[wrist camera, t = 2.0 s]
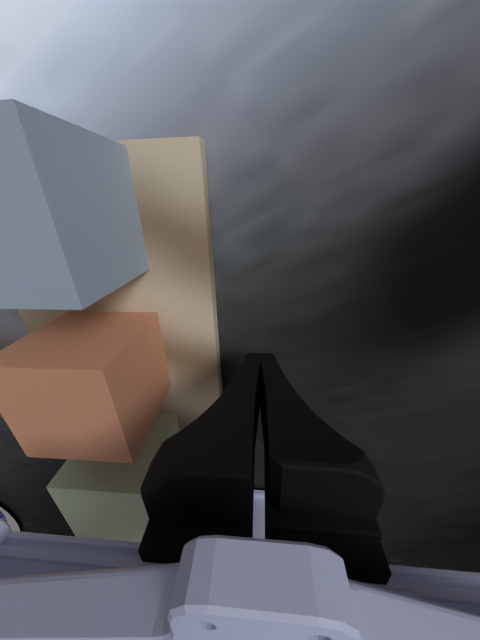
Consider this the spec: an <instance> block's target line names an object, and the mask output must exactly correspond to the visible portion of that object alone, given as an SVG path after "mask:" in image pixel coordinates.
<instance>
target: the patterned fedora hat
mask: <svg viewBox="0 0 480 640" xmlns="http://www.w3.org/2000/svg"><path fill="white" fill-rule="evenodd" d="M0 511H1V512H2V513H3V514H4V515H3V514H2V513H0V518H2V519H4V520H7V523H8V524H9V526H10V527H11V530H12V531H18V532H20V528H19V526H18V524H17V523H16V521H15V520H14V518H13V517H12V516H11V515H10V514H9V513H8V512H7V511H5V510H4V509H3V508H2V507H0ZM4 516H5V517H6V519H5V517H4Z"/></svg>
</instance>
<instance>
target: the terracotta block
mask: <svg viewBox="0 0 480 640" xmlns="http://www.w3.org/2000/svg"><path fill="white" fill-rule="evenodd" d="M170 387H171V382H170V377H169V371H168V366H167V361H166V355H165V350H164V345H163V339H162V334H161V328H160V323H159V318H158V312H89V311H69V312H67V313H65V314H63V315H62V316H60V317H58V318H56V319H55V320H53V321H51V322H49V323H48V324H46V325H44V326H42V327H41V328H39V329H37V330H35V331H34V332H32V333H30V334H28V335H27V336H25V337H23V338H21V339H20V340H18V341H16V342H14V343H13V344H11V345H9V346H7V347H6V348H4V349H2V350H0V413H1V415H2V416H3V418H4V420H5V421H6V423H7V425H8V426H9V428H10V429H11V431H12V433H13V434H14V436H15V438H16V439H17V441H18V443H19V444H20V446H21V447H22V449H23V451H24V452H25V454H26V456H27V457H38V458H54V459H70V460H86V461H102V462H118V463H134V461H135V459H136V457H137V455H138V453H139V451H140V449H141V447H142V445H143V443H144V441H145V439H146V437H147V434H148V432H149V430H150V428H151V426H152V424H153V422H154V420H155V418H156V416H157V414H158V412H159V410H160V408H161V406H162V404H163V402H164V400H165V398H166V396H167V394H168V392H169V389H170Z"/></svg>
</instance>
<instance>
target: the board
mask: <svg viewBox="0 0 480 640" xmlns="http://www.w3.org/2000/svg"><path fill="white" fill-rule="evenodd" d="M114 141H116V142H118V143H120V144H123V145H125V146H127V151H128V157H129V162H130V167H131V173H132V178H133V184H134V189H135V194H136V200H137V205H138V210H139V216H140V221H141V226H142V232H143V237H144V243H145V248H146V253H147V259H148V264H149V270H148V271H146V272H144V273H143V274H141V275H139V276H138V277H136V278H134V279H133V280H131V281H129V282H128V283H126V284H124V285H123V286H121V287H119V288H118V289H116V290H115V291H113V292H111V293H110V294H108V295H106V296H105V297H103V298H101V299H100V300H98V301H96V302H95V303H93V304H91V305H90V306H88V307H86V308H85V309H83V310H51V309H0V350H2V349H4V348H6V347H7V346H9V345H11V344H13V343H14V342H16V341H18V340H20V339H21V338H23V337H25V336H27V335H28V334H30V333H32V332H34V331H35V330H37V329H39V328H41V327H42V326H44V325H46V324H48V323H49V322H51V321H53V320H55V319H56V318H58V317H60V316H62V315H63V314H65V313H67V312H69V311H89V312H158V318H159V323H160V328H161V334H162V339H163V345H164V350H165V355H166V361H167V366H168V371H169V377H170V382H171V387H170V389H169V392H168V394H167V396H166V398H165V400H164V402H163V404H162V406H161V408H160V410H159V412H160V413H176V414H177V420H178V425H179V430H180V431H181V430H182V429H184V428H185V427H186V426H188V425H189V424H190V423H191V422H193V421H194V420H195V419H196V418H198V417H199V416H200V415H201V414H203V413H204V412H205V411H206V410H207V409H208V408H209V407H210V406H211V405H212V404H213V403H214V402H215V401H216V400H217V399H218V398H219V397H220V395H221V394H222V393H223V391H222V377H221V363H220V349H219V335H218V321H217V307H216V293H215V278H214V264H213V250H212V236H211V222H210V208H209V194H208V180H207V166H206V152H205V142H204V141H203V139H202V138H201V137H200V136H195V137H175V138H154V139H134V140H114ZM0 417H1V418H3V416H2V415H1V413H0Z"/></svg>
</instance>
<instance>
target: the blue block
mask: <svg viewBox="0 0 480 640" xmlns="http://www.w3.org/2000/svg"><path fill="white" fill-rule="evenodd" d="M148 270H149V264H148V259H147V253H146V248H145V243H144V237H143V232H142V226H141V221H140V216H139V210H138V205H137V200H136V194H135V189H134V184H133V178H132V173H131V167H130V162H129V157H128V151H127V146H125V145H123V144H120V143H118V142H116V141H113V140H111V139H108V138H106V137H103V136H101V135H99V134H96V133H94V132H91V131H89V130H87V129H84V128H82V127H79V126H77V125H74V124H72V123H70V122H67V121H65V120H62V119H60V118H57V117H55V116H53V115H50V114H48V113H45V112H43V111H40V110H38V109H36V108H33V107H31V106H28V105H26V104H23V103H21V102H19V101H16V100H14V99H9V100H0V309H51V310H83V309H85V308H86V307H88V306H90V305H91V304H93V303H95V302H96V301H98V300H100V299H101V298H103V297H105V296H106V295H108V294H110V293H111V292H113V291H115V290H116V289H118V288H119V287H121V286H123V285H124V284H126V283H128V282H129V281H131V280H133V279H134V278H136V277H138V276H139V275H141V274H143V273H144V272H146V271H148Z"/></svg>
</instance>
